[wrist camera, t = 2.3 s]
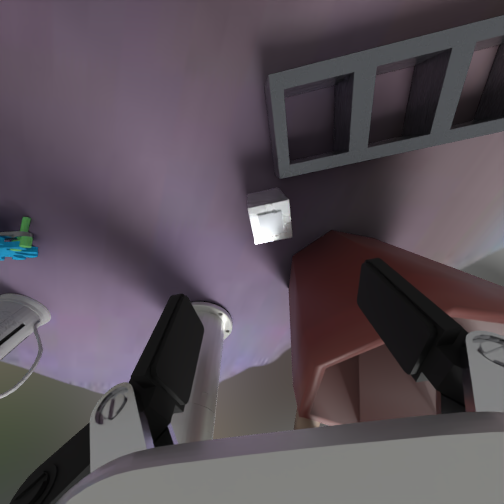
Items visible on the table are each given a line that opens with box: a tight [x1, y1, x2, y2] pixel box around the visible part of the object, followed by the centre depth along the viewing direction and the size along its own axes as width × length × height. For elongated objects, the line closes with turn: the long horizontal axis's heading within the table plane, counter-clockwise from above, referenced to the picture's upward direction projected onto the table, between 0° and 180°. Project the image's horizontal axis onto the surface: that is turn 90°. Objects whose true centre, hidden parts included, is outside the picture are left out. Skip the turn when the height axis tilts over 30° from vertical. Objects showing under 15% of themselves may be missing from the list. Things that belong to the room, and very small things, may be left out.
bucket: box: [289, 230, 504, 430], centre depth 22 cm, size 24×22×25 cm
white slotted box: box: [247, 188, 292, 244], centre depth 23 cm, size 4×4×7 cm
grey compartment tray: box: [264, 15, 504, 179], centre depth 19 cm, size 26×9×4 cm, turn 101°
